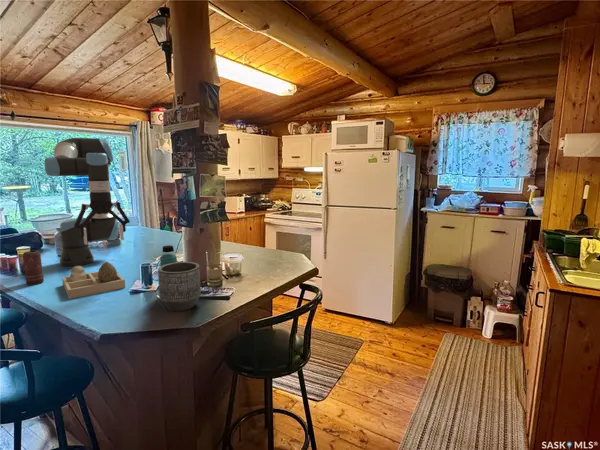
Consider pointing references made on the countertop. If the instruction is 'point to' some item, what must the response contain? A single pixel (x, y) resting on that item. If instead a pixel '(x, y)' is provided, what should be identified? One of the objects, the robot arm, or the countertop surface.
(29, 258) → the can
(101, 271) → the decorative egg
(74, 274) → the beige stacked dome figurine
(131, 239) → the countertop surface
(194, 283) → the planter
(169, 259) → the beverage bottle
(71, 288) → the wooden compartment tray
